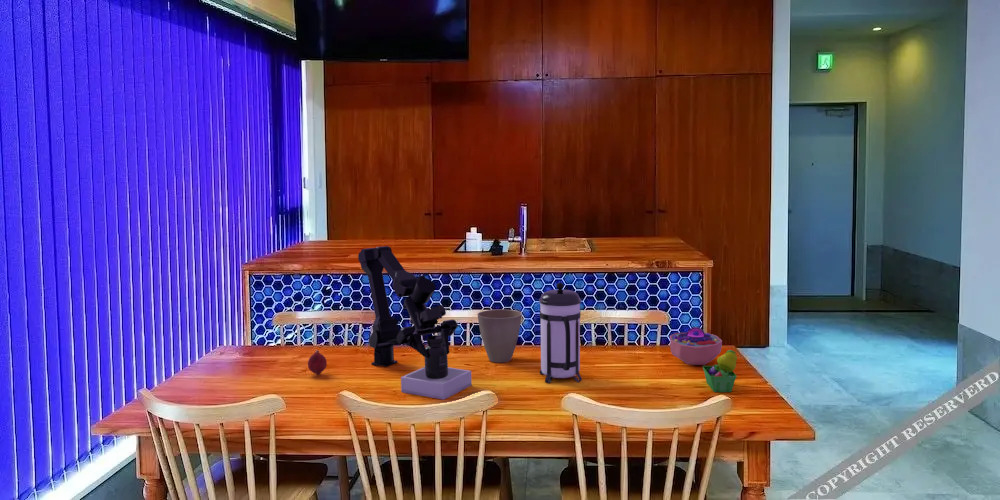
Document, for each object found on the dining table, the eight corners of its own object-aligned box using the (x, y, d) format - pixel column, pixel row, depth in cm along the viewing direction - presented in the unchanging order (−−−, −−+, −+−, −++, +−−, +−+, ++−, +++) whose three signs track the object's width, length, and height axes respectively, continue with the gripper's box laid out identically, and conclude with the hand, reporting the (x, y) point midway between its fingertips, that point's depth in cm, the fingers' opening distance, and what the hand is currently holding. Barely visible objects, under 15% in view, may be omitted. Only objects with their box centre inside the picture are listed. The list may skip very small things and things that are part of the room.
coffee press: (524, 379, 236) (523, 283, 233) (556, 368, 248) (556, 276, 244) (568, 390, 225) (568, 290, 221) (600, 378, 236) (600, 282, 232)
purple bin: (430, 378, 239) (430, 364, 238) (471, 385, 231) (471, 370, 231) (401, 391, 226) (400, 377, 225) (443, 399, 218) (443, 384, 218)
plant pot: (531, 360, 257) (530, 314, 255) (494, 368, 249) (493, 320, 247) (505, 351, 269) (505, 307, 267) (469, 358, 261) (469, 312, 259)
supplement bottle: (445, 371, 233) (444, 333, 231) (450, 378, 226) (449, 338, 224) (423, 373, 231) (421, 335, 229) (427, 380, 224) (425, 341, 222)
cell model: (663, 368, 246) (664, 334, 244) (674, 353, 264) (674, 321, 263) (718, 374, 239) (718, 338, 238) (724, 357, 258) (725, 324, 256)
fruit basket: (701, 381, 232) (702, 345, 230) (730, 381, 231) (731, 345, 230) (710, 393, 220) (711, 355, 219) (741, 393, 220) (742, 355, 219)
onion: (322, 377, 241) (321, 353, 240) (305, 377, 242) (304, 352, 241) (330, 372, 247) (328, 348, 246) (313, 371, 248) (312, 347, 247)
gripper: (400, 301, 223) (419, 346, 216) (454, 293, 234) (474, 335, 226) (388, 322, 230) (406, 366, 223) (441, 314, 241) (460, 355, 234)
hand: (438, 355), depth 226 cm, fingers closed on supplement bottle, 7 cm apart
